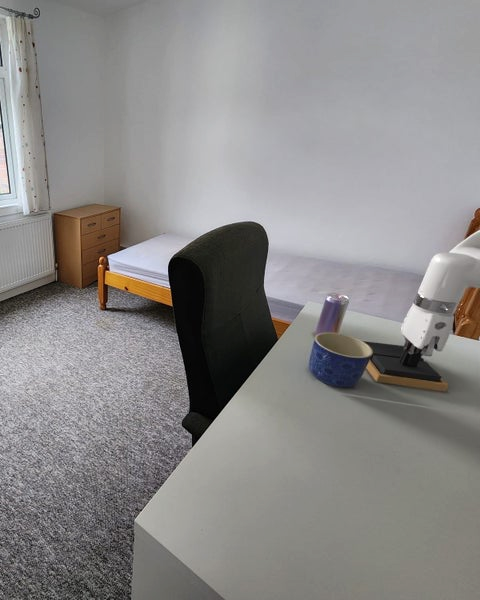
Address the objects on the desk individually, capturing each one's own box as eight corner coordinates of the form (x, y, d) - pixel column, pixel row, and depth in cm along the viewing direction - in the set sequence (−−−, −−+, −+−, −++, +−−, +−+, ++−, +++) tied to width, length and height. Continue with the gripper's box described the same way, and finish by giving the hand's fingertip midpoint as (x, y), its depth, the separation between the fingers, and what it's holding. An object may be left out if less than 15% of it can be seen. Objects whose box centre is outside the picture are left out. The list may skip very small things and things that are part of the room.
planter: (354, 371, 96) (367, 338, 91) (363, 398, 86) (378, 362, 81) (303, 360, 101) (312, 328, 96) (306, 384, 91) (317, 350, 87)
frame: (409, 356, 101) (412, 349, 100) (444, 393, 87) (449, 385, 86) (351, 349, 106) (353, 342, 104) (375, 382, 91) (379, 375, 90)
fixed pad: (406, 356, 101) (410, 346, 99) (419, 370, 95) (424, 359, 93) (358, 350, 104) (362, 340, 103) (368, 363, 98) (372, 353, 97)
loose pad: (420, 371, 94) (425, 361, 93) (436, 387, 88) (441, 376, 87) (369, 364, 97) (373, 354, 96) (380, 379, 91) (385, 369, 90)
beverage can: (318, 341, 110) (331, 300, 104) (311, 332, 115) (323, 292, 109) (338, 343, 109) (353, 301, 102) (331, 334, 114) (344, 293, 108)
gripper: (476, 318, 76) (442, 384, 84) (435, 292, 89) (409, 351, 96) (434, 315, 78) (404, 379, 86) (400, 290, 91) (377, 347, 99)
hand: (407, 364), depth 91 cm, fingers closed
